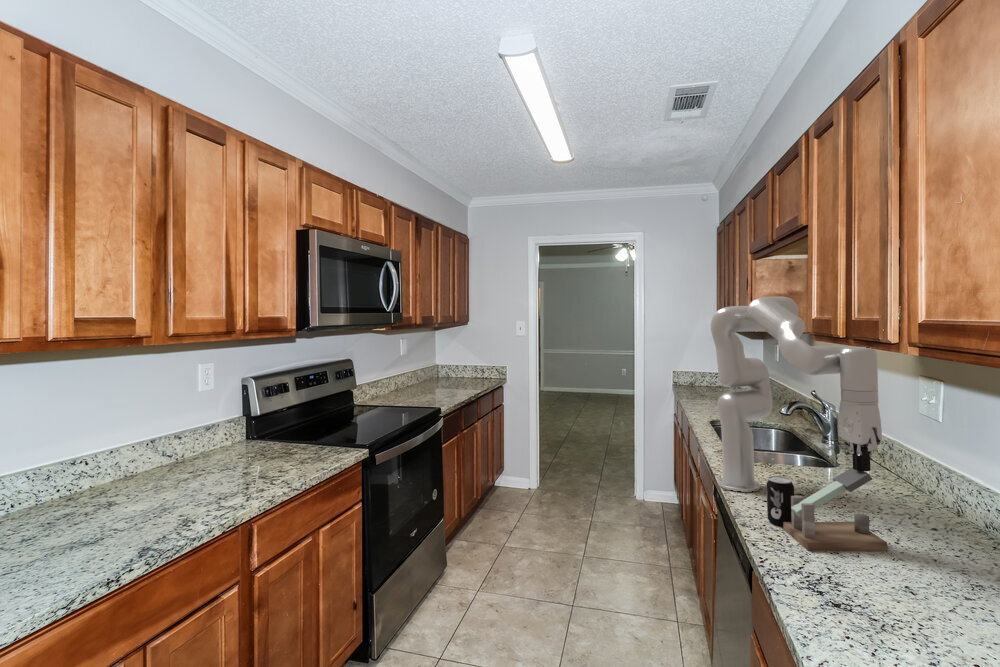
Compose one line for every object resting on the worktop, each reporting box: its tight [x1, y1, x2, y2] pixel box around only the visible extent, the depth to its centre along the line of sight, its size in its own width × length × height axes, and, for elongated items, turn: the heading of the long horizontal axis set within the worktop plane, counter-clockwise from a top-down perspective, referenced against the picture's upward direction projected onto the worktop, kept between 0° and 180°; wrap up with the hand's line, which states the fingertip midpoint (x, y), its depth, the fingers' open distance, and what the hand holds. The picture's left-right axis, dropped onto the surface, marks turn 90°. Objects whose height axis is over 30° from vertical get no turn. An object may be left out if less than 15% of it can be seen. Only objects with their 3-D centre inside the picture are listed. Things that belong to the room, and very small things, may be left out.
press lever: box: [791, 466, 873, 517], centre depth 123 cm, size 6×19×2 cm
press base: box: [782, 495, 888, 552], centre depth 123 cm, size 12×18×10 cm, turn 85°
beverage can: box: [766, 475, 795, 527], centre depth 134 cm, size 7×7×12 cm
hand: (861, 470), depth 122 cm, fingers closed
